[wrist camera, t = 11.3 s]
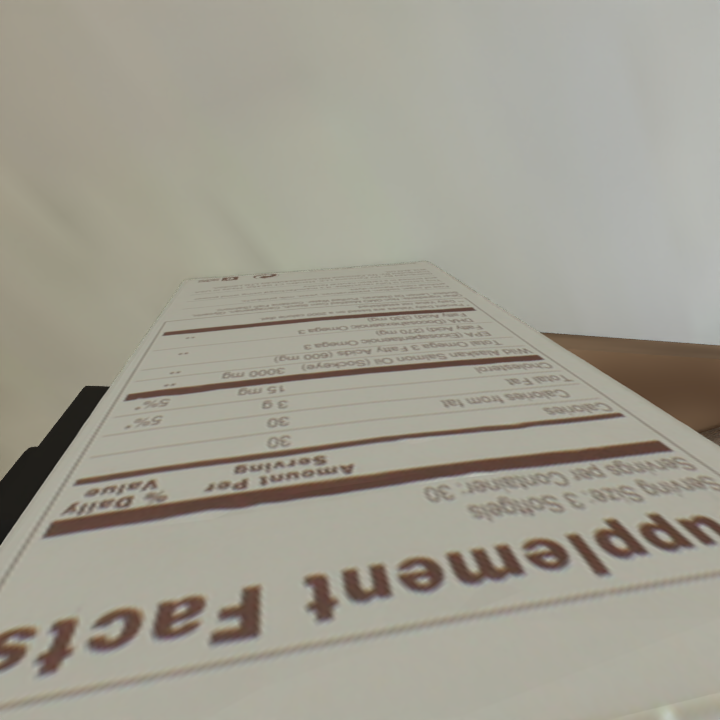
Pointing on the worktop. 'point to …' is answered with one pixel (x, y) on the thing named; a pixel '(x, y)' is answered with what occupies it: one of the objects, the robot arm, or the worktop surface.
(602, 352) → the walnut plinth
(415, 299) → the supplement box
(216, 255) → the worktop surface
